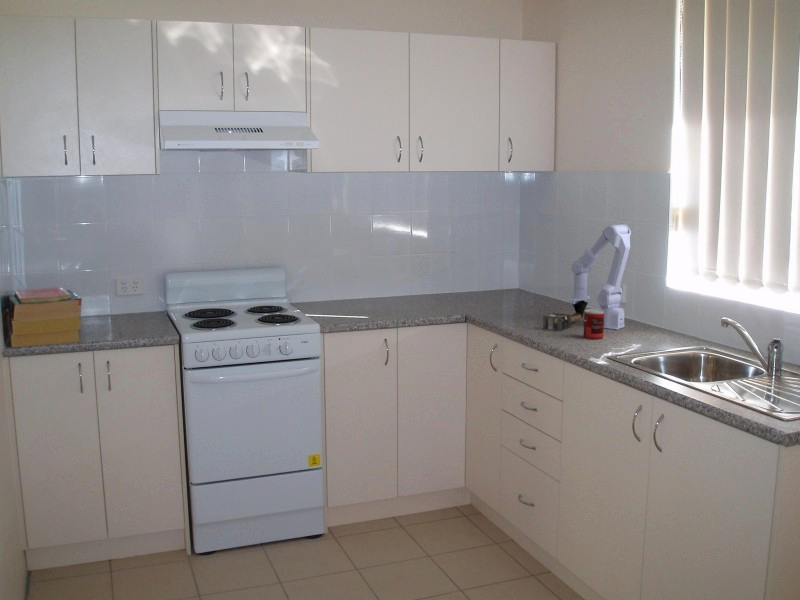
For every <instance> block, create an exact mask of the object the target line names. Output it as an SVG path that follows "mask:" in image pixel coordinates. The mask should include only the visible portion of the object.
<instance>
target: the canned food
mask: <svg viewBox="0 0 800 600" xmlns="http://www.w3.org/2000/svg"><path fill="white" fill-rule="evenodd" d="M604 331H605V328H604V311H603V310H601V309H596V308H595V309H594V308H589V309H585V310H584V314H583V336H584V337H583V338H585V339H586V340H587V339H588V340H595V341H596V340H602V339H603V338H604V334H605V333H604Z"/></svg>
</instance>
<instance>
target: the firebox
mask: <svg viewBox="0 0 800 600" xmlns="http://www.w3.org/2000/svg"><path fill="white" fill-rule="evenodd" d="M572 314H573V313H565V312H557V311H554V312H552V314H543V317H542V318H543V319H542V320H543V321H542V322H543V324H542V326H543V327H542V328H541V330H543V329H546V330H545V331H550V330H553V331H552V332H557V331H559V332H562V331H565V330H568V328H569V329H571V327H572V328H573V325H572V322H571V319H572ZM562 316H567V324H565V325H563V326H562ZM556 318H557V326H555V325H554V319H556ZM549 319H552V324H551V325H549ZM561 330H562V331H561Z"/></svg>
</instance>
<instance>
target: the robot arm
mask: <svg viewBox="0 0 800 600" xmlns="http://www.w3.org/2000/svg"><path fill="white" fill-rule="evenodd" d="M631 236H632V231H631V230H630V226H628V225H627V224H625V223H621V224H607V225H606V226H605V228H604V229H603V230H602V231H601V235H600V236H599V237H598V239H597V240H596V242H595V243H594V245H593V246H592V248H591V247H589V248H587V249H585V250H584V253H583V254H582V255H581V256H580V257H579V258H578V260H574V261H573V262H572V264H571V268H570V269H571V271H572V272H573V296H571V298H570V300H569V304H570V305H572V306H573V308H574V311H575V312H574V313H576V312H579V313H580V314H581V319H583V318H584V311H585V310H586V308H587V306H588V304H589V303H588V301H590V299H591V295H588V277H589V272H590V271H591V266H592V265H593V264H594V263H595V262H596V260H597V259H598V258H599V253H600V252H601V251H602V250H603V249H604V248H605V247H606V246H607V245H608V243H610V244H611V245H612V247H614V248H615V251H614V255H613V259H612V263H611V267H610V270H609V273H608V277H607V281H606V283H605V285H604V286H602V288H601V290H600V292H599V293H598V294H597V298H596V299H597V302H598V305H599V307H600V310H603V311H604V329H610V330H619V329H622V328H625V327H626V325H625V309H624V308H623V307H620V305H621V303H622V301H623V289H622V287H621V283H622V280H623V277H624V272H625V268H626V265H627V261H628V258H629V253H630V250H631V238H630V237H631Z"/></svg>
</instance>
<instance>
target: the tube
mask: <svg viewBox="0 0 800 600" xmlns="http://www.w3.org/2000/svg"><path fill="white" fill-rule="evenodd" d="M571 314H572V319H571V323H574V322H579V321H580V320H581V319H582V318H581V314H580V313H579V312H574V313H573V312H572V313H571ZM561 317H562V326H563V325H567V316H564V315H561ZM554 325H555V326H557V318H556V319H554Z"/></svg>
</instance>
